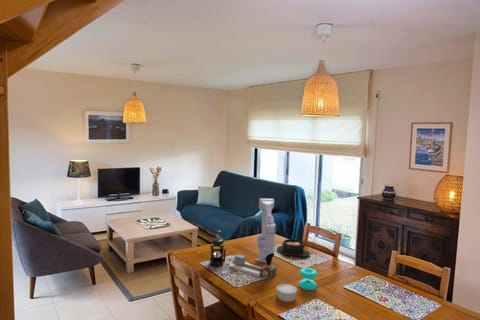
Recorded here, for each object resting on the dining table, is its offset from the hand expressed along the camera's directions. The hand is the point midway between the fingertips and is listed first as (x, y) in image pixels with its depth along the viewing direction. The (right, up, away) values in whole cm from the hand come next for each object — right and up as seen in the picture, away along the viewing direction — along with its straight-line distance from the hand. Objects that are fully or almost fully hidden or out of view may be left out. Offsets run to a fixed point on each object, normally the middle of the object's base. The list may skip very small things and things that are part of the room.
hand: (268, 264), depth 204 cm
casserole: (+22, -5, +41) cm, 47 cm away
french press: (-33, -4, +14) cm, 36 cm away
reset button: (0, -5, 0) cm, 5 cm away
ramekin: (+7, -10, -27) cm, 29 cm away
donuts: (+22, -9, -13) cm, 27 cm away
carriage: (-18, -3, +12) cm, 22 cm away
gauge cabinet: (0, -7, +1) cm, 7 cm away
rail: (-13, -6, +9) cm, 16 cm away
